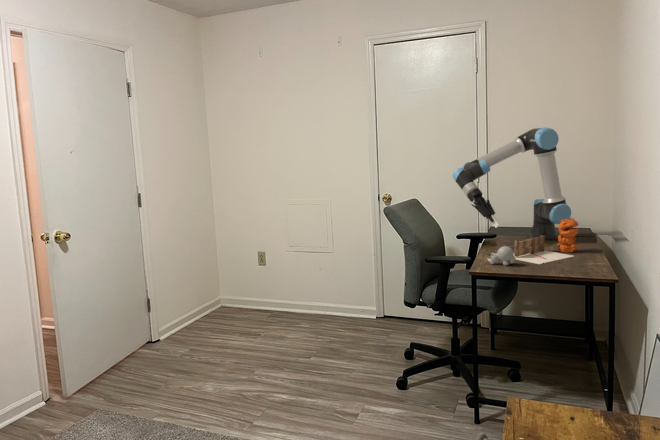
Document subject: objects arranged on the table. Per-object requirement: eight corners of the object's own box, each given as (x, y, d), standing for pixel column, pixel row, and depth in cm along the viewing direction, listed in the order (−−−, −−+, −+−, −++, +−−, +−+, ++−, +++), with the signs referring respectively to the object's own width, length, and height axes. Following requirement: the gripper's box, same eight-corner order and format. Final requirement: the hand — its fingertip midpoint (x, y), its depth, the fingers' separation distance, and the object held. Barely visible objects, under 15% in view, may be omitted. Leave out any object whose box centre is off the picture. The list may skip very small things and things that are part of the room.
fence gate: (528, 252, 255) (528, 237, 254) (532, 253, 253) (532, 237, 252) (513, 256, 247) (513, 240, 246) (517, 256, 246) (517, 241, 245)
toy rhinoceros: (492, 267, 241) (486, 251, 241) (517, 259, 236) (510, 242, 236) (491, 270, 234) (484, 253, 235) (516, 263, 229) (509, 245, 230)
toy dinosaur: (569, 254, 252) (570, 219, 249) (551, 251, 261) (552, 216, 259) (584, 252, 257) (585, 217, 254) (565, 248, 266) (566, 214, 264)
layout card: (501, 256, 252) (501, 255, 252) (535, 249, 266) (535, 248, 266) (539, 264, 234) (540, 263, 234) (574, 256, 247) (574, 255, 247)
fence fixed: (541, 250, 262) (541, 235, 261) (545, 250, 260) (545, 235, 259) (528, 253, 255) (529, 237, 254) (532, 254, 254) (533, 238, 253)
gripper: (476, 195, 279) (501, 229, 268) (460, 197, 272) (485, 231, 261) (484, 186, 274) (510, 220, 263) (468, 188, 267) (494, 222, 256)
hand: (498, 226), depth 262 cm, fingers closed
